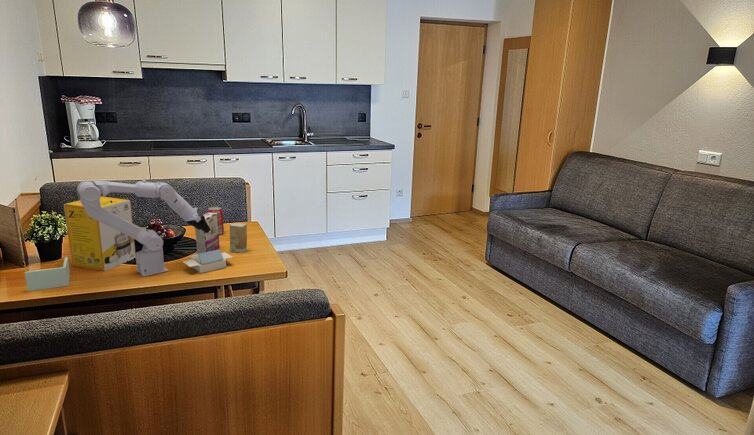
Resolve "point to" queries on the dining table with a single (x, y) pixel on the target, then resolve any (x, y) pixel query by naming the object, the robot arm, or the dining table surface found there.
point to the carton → (206, 267)
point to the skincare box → (238, 237)
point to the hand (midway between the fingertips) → (204, 229)
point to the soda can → (220, 217)
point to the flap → (210, 256)
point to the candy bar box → (208, 235)
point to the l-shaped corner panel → (48, 277)
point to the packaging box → (98, 236)
